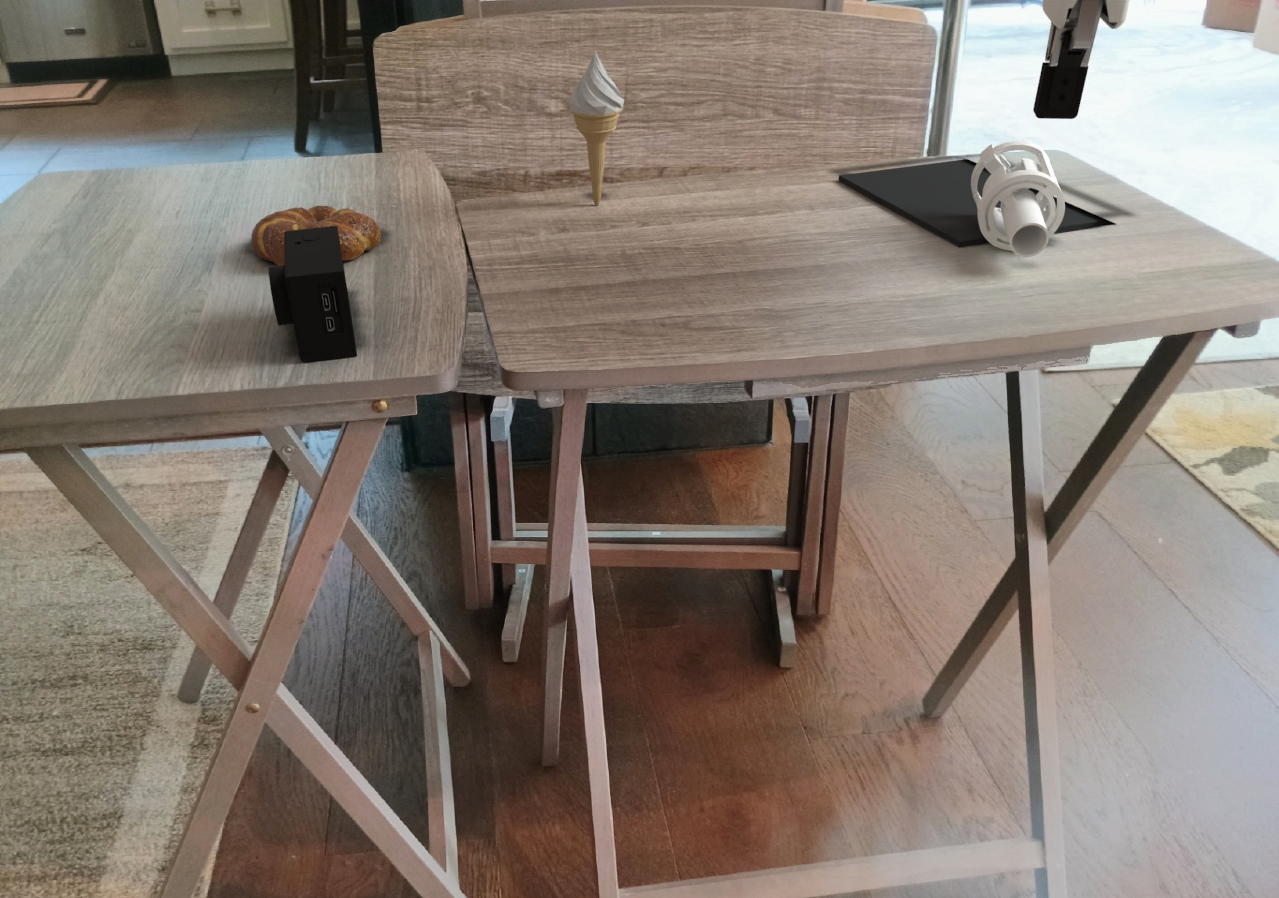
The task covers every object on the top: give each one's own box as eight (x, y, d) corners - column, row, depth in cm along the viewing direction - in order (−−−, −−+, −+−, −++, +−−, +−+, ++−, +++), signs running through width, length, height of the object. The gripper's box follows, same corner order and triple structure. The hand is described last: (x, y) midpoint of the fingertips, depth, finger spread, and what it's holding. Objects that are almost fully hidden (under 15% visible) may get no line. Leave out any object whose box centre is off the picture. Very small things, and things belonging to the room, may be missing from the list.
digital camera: (284, 312, 87) (268, 230, 83) (349, 304, 88) (337, 223, 84) (285, 365, 78) (267, 277, 74) (357, 356, 79) (343, 269, 75)
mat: (1122, 223, 99) (1123, 217, 98) (959, 247, 95) (960, 241, 94) (980, 162, 116) (981, 156, 116) (838, 180, 112) (838, 174, 112)
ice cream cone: (623, 195, 110) (624, 43, 101) (624, 213, 105) (625, 55, 97) (570, 196, 110) (567, 45, 101) (569, 214, 105) (565, 56, 97)
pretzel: (386, 228, 103) (381, 191, 101) (378, 268, 94) (372, 229, 92) (265, 234, 103) (258, 197, 101) (245, 275, 94) (236, 235, 92)
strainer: (966, 239, 88) (954, 173, 99) (1018, 293, 90) (1000, 222, 101) (1040, 182, 84) (1018, 120, 95) (1093, 240, 86) (1065, 172, 97)
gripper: (1192, -146, 68) (1120, 141, 78) (1146, -154, 80) (1089, 95, 90) (1069, -141, 70) (1014, 138, 80) (1042, -150, 82) (997, 94, 92)
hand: (1054, 115), depth 85 cm, fingers closed
